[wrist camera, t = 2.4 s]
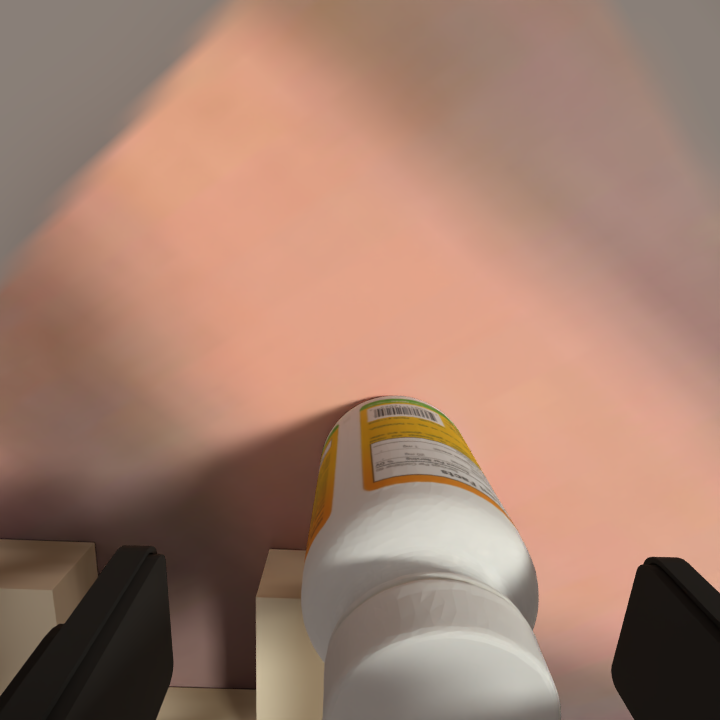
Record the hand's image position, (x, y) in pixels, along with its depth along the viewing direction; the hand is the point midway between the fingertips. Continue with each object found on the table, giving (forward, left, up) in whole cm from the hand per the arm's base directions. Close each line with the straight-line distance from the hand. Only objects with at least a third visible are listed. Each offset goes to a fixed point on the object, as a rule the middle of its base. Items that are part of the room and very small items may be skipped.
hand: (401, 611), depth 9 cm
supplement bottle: (-1, +1, -8) cm, 8 cm away
